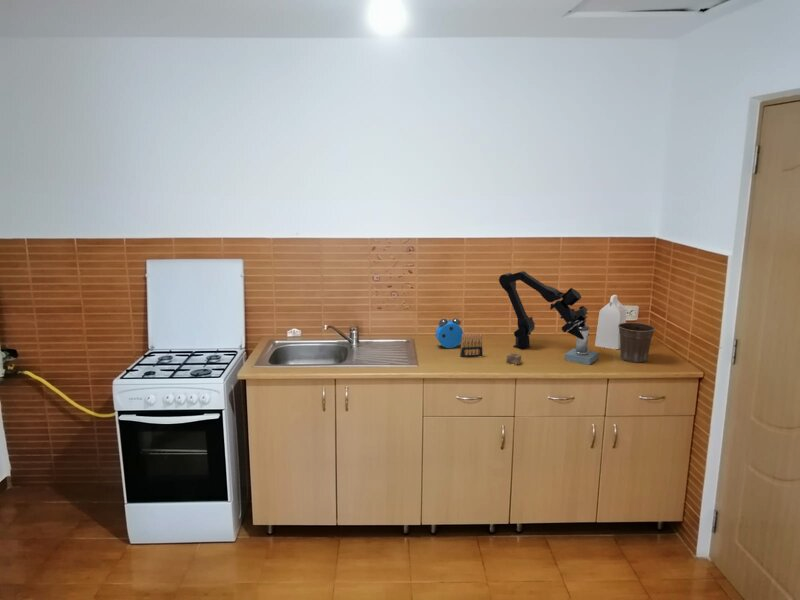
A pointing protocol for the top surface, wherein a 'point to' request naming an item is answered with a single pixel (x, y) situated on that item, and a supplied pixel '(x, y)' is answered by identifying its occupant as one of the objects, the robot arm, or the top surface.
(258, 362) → the top surface
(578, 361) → the stand
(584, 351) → the glass shaker
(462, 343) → the ammunition clip
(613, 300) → the milk
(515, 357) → the offcut block
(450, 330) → the alarm clock
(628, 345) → the plant pot
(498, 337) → the top surface
